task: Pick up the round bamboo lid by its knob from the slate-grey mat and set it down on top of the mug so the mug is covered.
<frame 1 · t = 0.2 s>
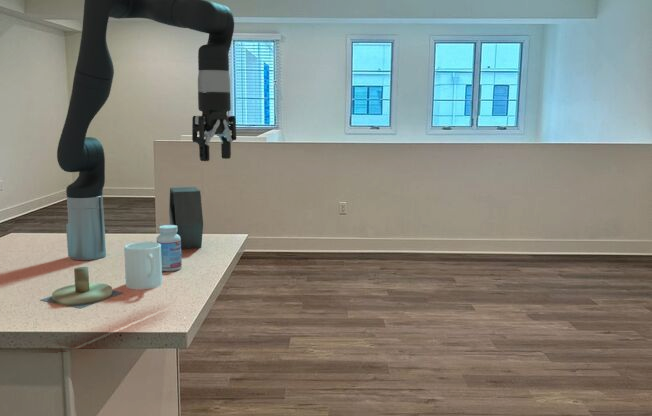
hand: (215, 159, 140), 29 cm above the table, fingers open, 8 cm apart
planter: (186, 246, 179), on the table
mug: (147, 289, 134), on the table
mat: (83, 298, 126), on the table
pill bottle: (169, 269, 151), on the table
lid: (82, 296, 126), point 1 cm above the table, touching mat
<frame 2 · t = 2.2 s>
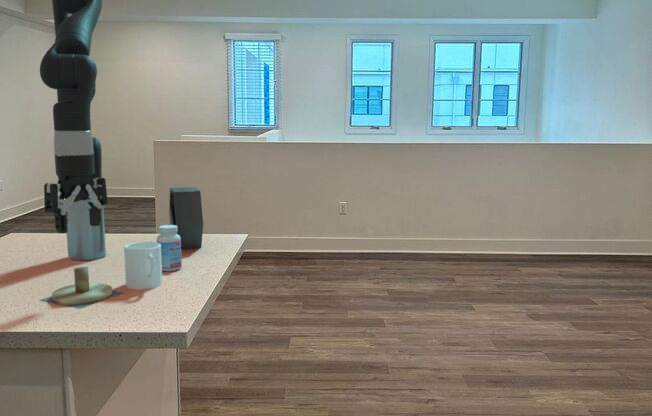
hand: (79, 229, 124), 15 cm above the table, fingers open, 8 cm apart
nothing on the table moved.
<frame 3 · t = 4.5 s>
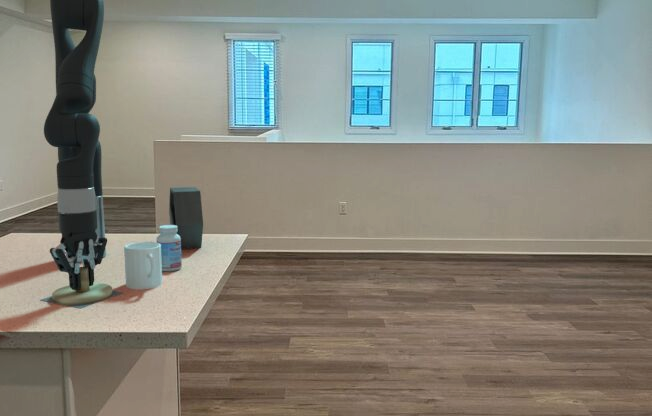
hand: (82, 287, 126), 3 cm above the table, fingers closed on lid, 2 cm apart
lid: (82, 296, 126), point 1 cm above the table, touching gripper, mat
everything else where it was.
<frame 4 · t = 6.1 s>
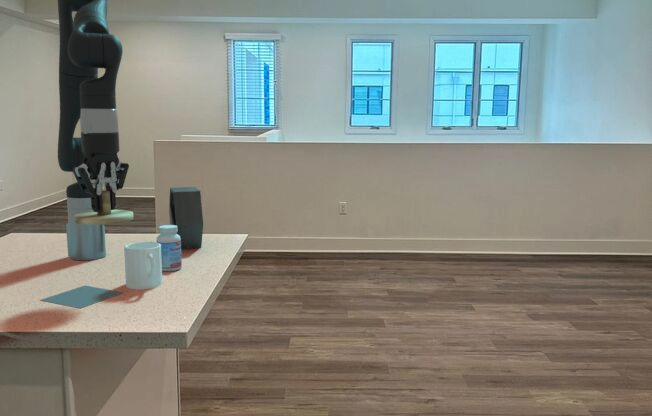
hand: (104, 210, 126), 19 cm above the table, fingers closed on lid, 2 cm apart
lid: (104, 219, 127), point 17 cm above the table, touching gripper
everything else where it was.
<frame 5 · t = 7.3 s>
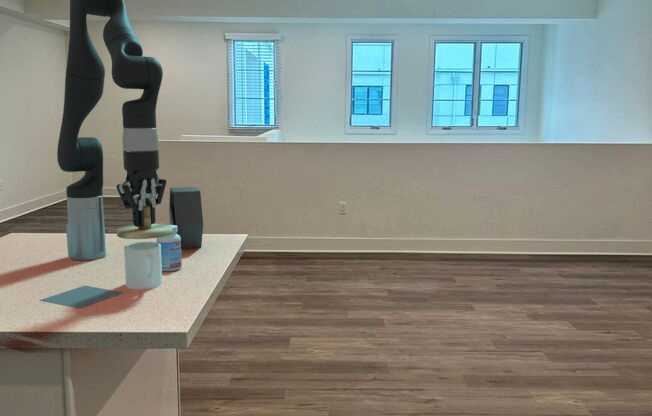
hand: (144, 225, 132), 15 cm above the table, fingers closed on lid, 2 cm apart
lid: (145, 233, 132), point 13 cm above the table, touching gripper
everything else where it was.
when the fingers open (14 cm above the table, at t = 8.2 s): lid drops 2 cm, resting on mug.
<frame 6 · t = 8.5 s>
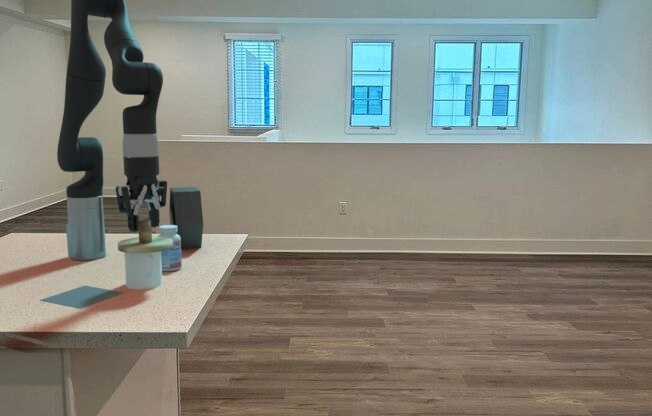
hand: (144, 228, 132), 14 cm above the table, fingers open, 6 cm apart
mug: (147, 289, 134), on the table, touching lid
lid: (145, 247, 132), point 10 cm above the table, touching mug
everything else where it was.
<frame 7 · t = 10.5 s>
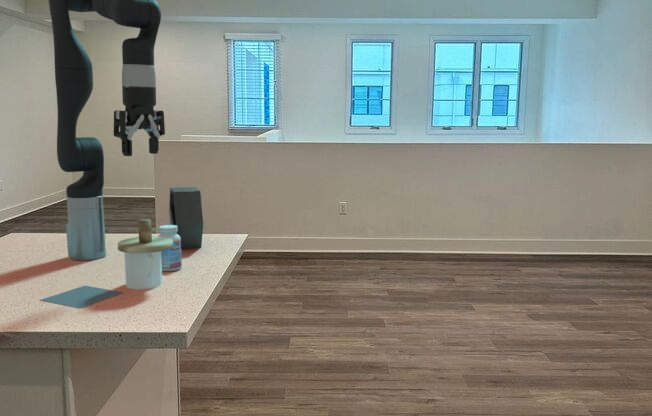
hand: (140, 154, 139), 30 cm above the table, fingers open, 8 cm apart
nothing on the table moved.
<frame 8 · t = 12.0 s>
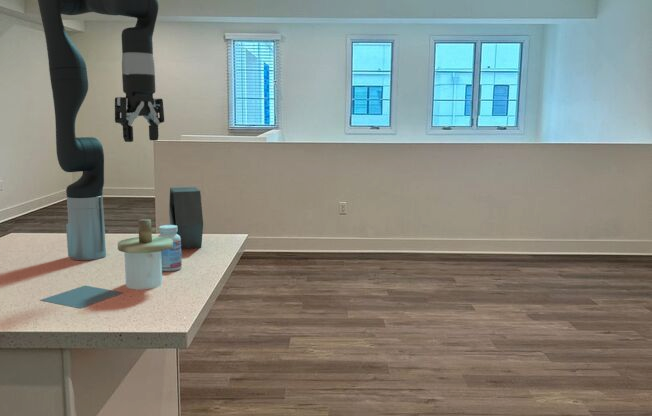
hand: (141, 141, 143), 33 cm above the table, fingers open, 8 cm apart
nothing on the table moved.
at the end: lid inside the target area on the mug (0.1 cm from its centre), point 10.0 cm above the mug's base; lid tilted 0°; the gripper is holding nothing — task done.
